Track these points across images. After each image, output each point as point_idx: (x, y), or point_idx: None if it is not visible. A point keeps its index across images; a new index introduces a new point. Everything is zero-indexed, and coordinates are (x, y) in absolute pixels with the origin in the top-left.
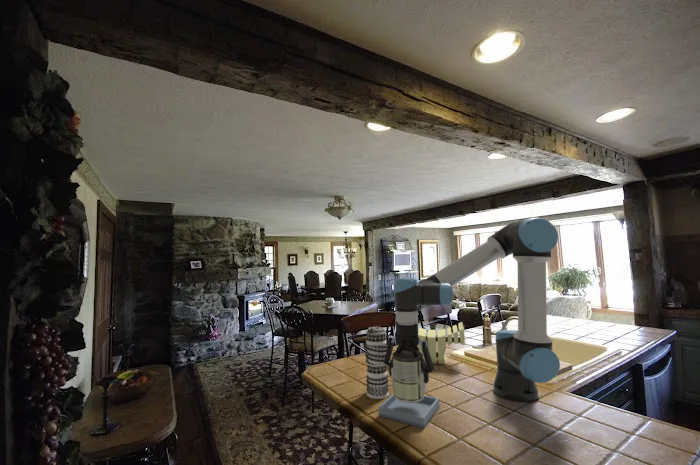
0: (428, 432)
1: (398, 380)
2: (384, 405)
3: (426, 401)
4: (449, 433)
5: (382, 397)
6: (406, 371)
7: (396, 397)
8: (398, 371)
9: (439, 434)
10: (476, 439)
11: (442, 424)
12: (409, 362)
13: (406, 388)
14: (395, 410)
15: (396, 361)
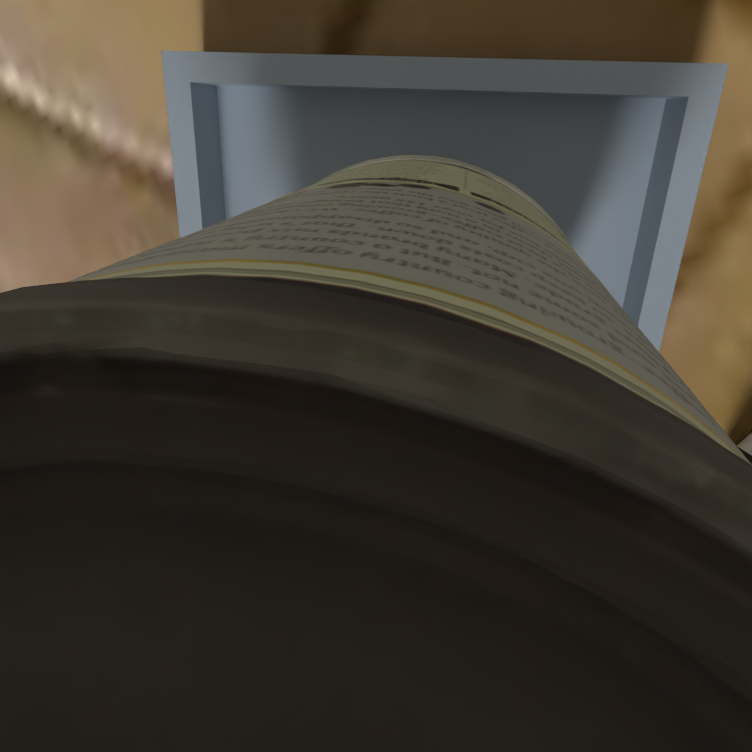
0: (148, 9)
1: (483, 203)
2: (666, 168)
3: None
4: (11, 90)
5: (747, 443)
6: (218, 224)
7: (523, 197)
8: (475, 224)
9: (62, 27)
10: None
11: (112, 209)
12: None
13: (335, 177)
14: (495, 70)
15: (590, 347)
